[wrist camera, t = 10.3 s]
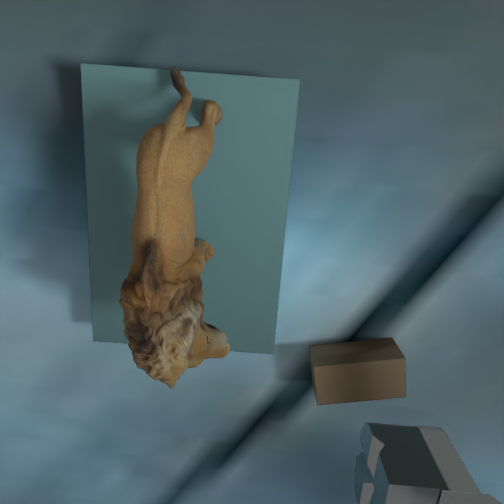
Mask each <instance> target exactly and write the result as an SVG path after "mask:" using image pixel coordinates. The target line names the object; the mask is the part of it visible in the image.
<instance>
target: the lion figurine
mask: <svg viewBox="0 0 504 504" xmlns="http://www.w3.org/2000/svg"><path fill="white" fill-rule="evenodd" d="M170 75H171V78H172V84H173V87H174V88H175V89H176V90H177V91H178V93H179V94H180V96H181V99H180V101H179V102H178V103H177V104H176V106H175V107H174V109H173V111H172V112H171V113H170V115H169V116H168V118H167V120H166V122H165V124H164V123H161V124H157V125H155V126H153V127H151V128H150V129H149V130H147V131H146V133H145V134H144V136H143V137H142V139H141V141H140V144H139V147H138V150H137V155H136V160H137V162H136V176H137V187H138V189H137V200H136V207H135V213H134V219H133V225H132V256H133V262H132V264H131V265H130V268H129V273H128V276H127V277H126V278H125V280H124V281H123V283H122V286H121V290H120V295H121V298H120V299H119V304H120V305H121V307H122V309H123V315H124V319H123V323H124V326H125V330H124V335H125V338H126V339H128V340H129V343H128V346H129V348H130V349H131V350H132V355H133V359H134V362H135V363H136V365H137V367H138V368H139V369H143V370H144V371H146V373H147V374H148V375H149V376H150V377H152V378H153V379H155V380H159V381H161V382H163V383H167V385H168V386H169V387H170V388H171V389H173V388H174V385H175V382H176V381H177V380H178V379H179V376H180V375H181V374H183V373H184V371H185V369H187V368H193V367H197V366H198V365H199V364H200V363H201V362H202V361H203V360H204V359H207V358H223V357H225V356H226V355H227V354H228V353H229V351H230V345H229V343H228V342H227V336H226V334H225V333H224V332H223V331H221V330H219V329H218V328H217V327H215V326H213V325H211V324H208V323H205V322H204V321H203V320H202V318H203V314H204V304H203V303H202V302H201V300H202V293H203V291H202V280H201V278H200V275H201V273H202V271H203V268H204V265H205V262H206V261H207V260H210V259H211V257H212V255H213V254H214V250H213V248H212V247H211V245H210V244H209V243H207V242H206V241H204V240H199V239H197V240H196V241H195V217H194V201H193V196H192V190H191V185H192V181H193V180H194V178H196V177H197V176H198V175H199V174H200V173H201V172H202V171H203V169H204V168H205V167H206V165H207V163H208V160H209V157H210V155H211V153H212V150H213V146H214V131H215V125H217V124H218V123H219V122H220V121H221V119H222V110H221V107H220V105H219V104H218V103H217V102H215V101H213V100H206V101H205V102H204V103H203V106H202V108H201V123H200V124H199V126H194V127H186V124H185V120H186V114H187V112H188V110H189V108H190V106H191V102H192V95H191V93H190V92H189V90H188V88H187V87H186V86H185V78H184V77H183V75H182V74H181V71H180V70H179V69H178V68H177V67H171V68H170Z"/></svg>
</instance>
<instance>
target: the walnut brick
mask: <svg viewBox="0 0 504 504" xmlns="http://www.w3.org/2000/svg"><path fill="white" fill-rule="evenodd" d="M309 350H310V361H311V372H312V382H313V387H314V391H315V396H316V401H317V405H326V404H337V403H348V402H358V401H369V400H380V399H391V398H402V397H406V371H405V357H404V355H403V354H402V352H401V351H400V349H399V348H398V346H397V344H396V343H395V341H394V340H393V338H383V339H373V340H363V341H352V342H342V343H332V344H322V345H312V346H309Z"/></svg>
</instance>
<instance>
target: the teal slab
mask: <svg viewBox="0 0 504 504" xmlns="http://www.w3.org/2000/svg"><path fill="white" fill-rule="evenodd" d="M181 74H182V75H183V77H184V78H185V86H186V87H187V88H188V90H189V92H190V93H191V95H192V102H191V106H190V108H189V110H188V112H187V114H186V120H185V124H186V127H194V126H199V124H200V123H201V108H202V106H203V103H204V102H205V101H206V100H213V101H215V102H217V103H218V104H219V105H220V107H221V110H222V119H221V121H220V122H219V123H218V124H217V125H215V131H214V146H213V150H212V153H211V155H210V157H209V160H208V163H207V165H206V167H205V168H204V169H203V171H202V172H201V173H200V174H199V175H198V176H197V177H196V178H194V180H193V181H192V185H191V190H192V196H193V201H194V217H195V241H196V240H197V239H199V240H204V241H206V242H207V243H209V244H210V245H211V247H212V248H213V250H214V254H213V255H212V257H211V259H210V260H207V261H206V262H205V265H204V268H203V271H202V273H201V275H200V278H201V280H202V291H203V293H202V300H201V302H202V303H203V304H204V314H203V318H202V320H203V321H204V322H205V323H208V324H211V325H213V326H215V327H217V328H218V329H219V330H221V331H223V332H224V333H225V334H226V336H227V342H228V343H229V345H230V351H237V352H251V353H265V354H273V350H274V340H275V329H276V319H277V309H278V299H279V289H280V278H281V268H282V258H283V248H284V238H285V227H286V217H287V207H288V197H289V186H290V176H291V166H292V156H293V146H294V135H295V125H296V115H297V105H298V95H299V84H300V80H295V79H282V78H268V77H255V76H242V75H229V74H216V73H202V72H189V71H181ZM81 85H82V107H83V129H84V151H85V172H86V194H87V216H88V238H89V260H90V282H91V304H92V326H93V341H99V342H113V343H127V344H128V343H129V340H128V339H126V338H125V335H124V330H125V326H124V323H123V319H124V315H123V309H122V307H121V305H120V304H119V299H120V298H121V295H120V290H121V286H122V283H123V281H124V280H125V278H126V277H127V276H128V273H129V268H130V265H131V264H132V262H133V256H132V225H133V219H134V213H135V207H136V200H137V189H138V187H137V176H136V162H137V160H136V155H137V150H138V147H139V144H140V141H141V139H142V137H143V136H144V134H145V133H146V131H147V130H149V129H150V128H151V127H153V126H155V125H157V124H161V123H164V124H165V122H166V120H167V118H168V116H169V115H170V113H171V112H172V111H173V109H174V107H175V106H176V104H177V103H178V102H179V101H180V99H181V96H180V94H179V93H178V91H177V90H176V89H175V88H174V87H173V84H172V78H171V75H170V70H163V69H149V68H136V67H123V66H110V65H96V64H83V63H81Z"/></svg>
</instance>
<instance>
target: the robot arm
mask: <svg viewBox="0 0 504 504" xmlns="http://www.w3.org/2000/svg"><path fill="white" fill-rule="evenodd" d="M360 441H361V444H362V448H363V452H362V453H361V454H360V455H359V456H357V459H356V466H355V492H356V499H357V503H358V504H502V503H500V502H499V501H498V500H496V499H495V498H494V497H492V496H491V495H489V494H481V492H480V490H479V489H478V487H477V485H476V484H475V482H474V480H473V479H472V477H471V475H470V473H469V472H468V470H467V468H466V467H465V465H464V463H463V462H462V460H461V458H460V457H459V455H458V453H457V451H456V450H455V448H454V446H453V445H452V443H451V441H450V440H449V438H448V436H447V435H446V433H445V431H444V430H443V429H441V428H440V427H428V426H414V427H413V426H402V425H389V424H377V423H364V425H363V427H362V431H361V436H360Z"/></svg>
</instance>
